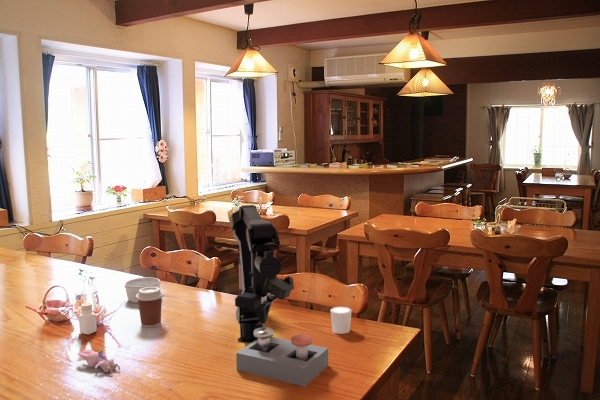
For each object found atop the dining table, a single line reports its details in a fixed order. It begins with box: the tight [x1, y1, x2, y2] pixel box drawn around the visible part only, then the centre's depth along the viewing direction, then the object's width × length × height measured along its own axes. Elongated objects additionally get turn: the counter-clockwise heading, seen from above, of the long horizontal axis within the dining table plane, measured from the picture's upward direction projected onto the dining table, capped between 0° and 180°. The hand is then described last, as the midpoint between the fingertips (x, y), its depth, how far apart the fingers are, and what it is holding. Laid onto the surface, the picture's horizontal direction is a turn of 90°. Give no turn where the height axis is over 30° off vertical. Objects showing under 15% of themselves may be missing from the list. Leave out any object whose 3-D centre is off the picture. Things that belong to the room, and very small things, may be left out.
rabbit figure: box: [77, 349, 121, 374], centre depth 152 cm, size 6×6×15 cm
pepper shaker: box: [78, 302, 98, 336], centre depth 178 cm, size 4×4×10 cm
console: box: [235, 336, 329, 388], centre depth 150 cm, size 21×14×5 cm, turn 61°
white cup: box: [329, 306, 352, 335], centre depth 176 cm, size 7×7×7 cm
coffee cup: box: [136, 287, 165, 328], centre depth 185 cm, size 9×9×12 cm
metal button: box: [254, 326, 275, 352], centre depth 152 cm, size 6×6×6 cm
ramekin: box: [124, 276, 161, 304], centre depth 212 cm, size 13×13×7 cm
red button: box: [290, 334, 313, 361], centre depth 147 cm, size 6×6×6 cm
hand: (263, 323), depth 152 cm, fingers closed
